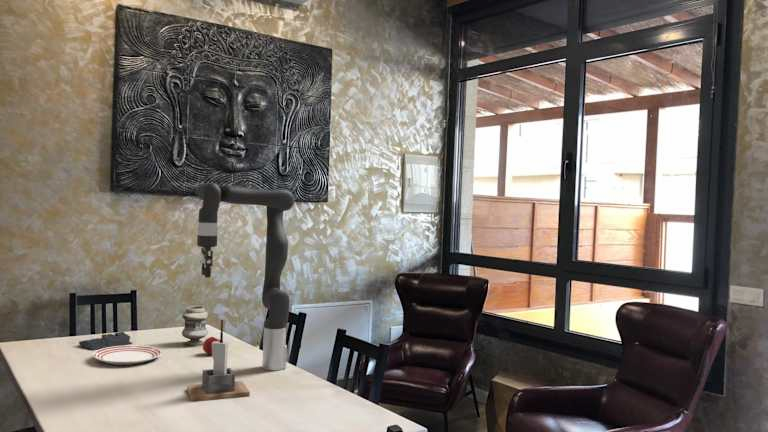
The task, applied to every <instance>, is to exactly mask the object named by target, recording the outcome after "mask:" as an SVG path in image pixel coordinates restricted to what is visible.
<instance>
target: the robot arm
mask: <svg viewBox="0 0 768 432" xmlns="http://www.w3.org/2000/svg"><path fill="white" fill-rule="evenodd" d="M196 195H197V196H198V198H199V199H200V200H202V206H201V208H199V210H198V221H197V222H198V223H197V230H196V231H197V234H196V235H197V236H196V237H197V238H196V246H197V247H198V248H199V247H200V265H201V275H202V276H204V278H206V279H207V278H211V275H212V267H213V259H214V258H213V255H214V251H213V250H212V248H215V247H217V246H218V235H219V234H218V233H219V232H218V211H219V208H220V203H221V202H222V203H228V204H233V205H235V204H236V205H248V206H249V205H250V206H265V208H266V240H265V260H264V261H265V262H264V280H263V288H262V293H261V302H262V306H263V307H264V308H265V309H267V310H268V317H267V319H265V320H264V321H263V339H262V341H263V342H262V344H263V345H262V363H261V364H262V369H264V370H266V371H281V370H285V369H287V352H288V351H287V344H286V339H287V323H288V321H289V315H290V314H289V312H290V297H289V294H288V293H287V292H286V291H284V290H282V289H281V276H282V273H283V270H284V268H285V266H286V263H287V261H288V252H289V241H288V236H287V233H286V229H285V225H284V212H287V211H288V210H290V209H292V207H293V206H294V204H295V198H294V194H293V193H292V192H291V191H290V190H288V189H284V188H283V189H282V188H281V189H280V188H278V189H277V188H275V189H274V188H273V189H272V190H271V189H270V190H263V189H256V188H251V187H243V186H238V185H237V186H236V185H222V184H217V183H215V182H204V183H201V184H199V186H197V188H196Z"/></svg>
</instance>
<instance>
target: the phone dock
mask: <svg viewBox="0 0 768 432" xmlns="http://www.w3.org/2000/svg"><path fill="white" fill-rule="evenodd" d="M235 380H236V374H235V372H234V371H233V370H232V368H231V367H227V374H224V375H213V368H210V369H203V370H202V379H201V384H199V383H198V384H190V385H189V384H187V385H186V391H187V393H188V395H189V399H190V401H191V402H200V401H201V402H202V401H209V400H221V399H233V398H234V399H235V398H243V397H250V395H251V394H250V393H251V392H250V390H249V389H248V386H246V384H245V383H244V382H243V381H242V380H237V381H235Z"/></svg>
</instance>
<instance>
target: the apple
mask: <svg viewBox="0 0 768 432" xmlns="http://www.w3.org/2000/svg"><path fill="white" fill-rule="evenodd" d="M214 341H220V338H219V339H218V338H216V337H214V336H210V337H208V338H206V339H205V340H204V341H203V342H204V344H203V346H202V350H203V351H204V353H206V354H208V355H210V356H212V343H213V342H214Z"/></svg>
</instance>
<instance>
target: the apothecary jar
mask: <svg viewBox="0 0 768 432" xmlns="http://www.w3.org/2000/svg"><path fill="white" fill-rule="evenodd" d="M205 307H206V306H203V305H191V306H190V305H189V306H187V307H186V308H185V311H184V312H183V313H182V318H183V319H184V328H183V330H182V331H181V335H182V337H184V338H186V339H188V340H187V341H185V342H184V343H183V345H184V346H185V347H203V344H204V342H205V341H203V340H201V339H203V338H206V337H207V336H208V335H209V330H208V328H207V327H206V319H207V318H208V317H209V313H208V312H207V311H206V309H205Z"/></svg>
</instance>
